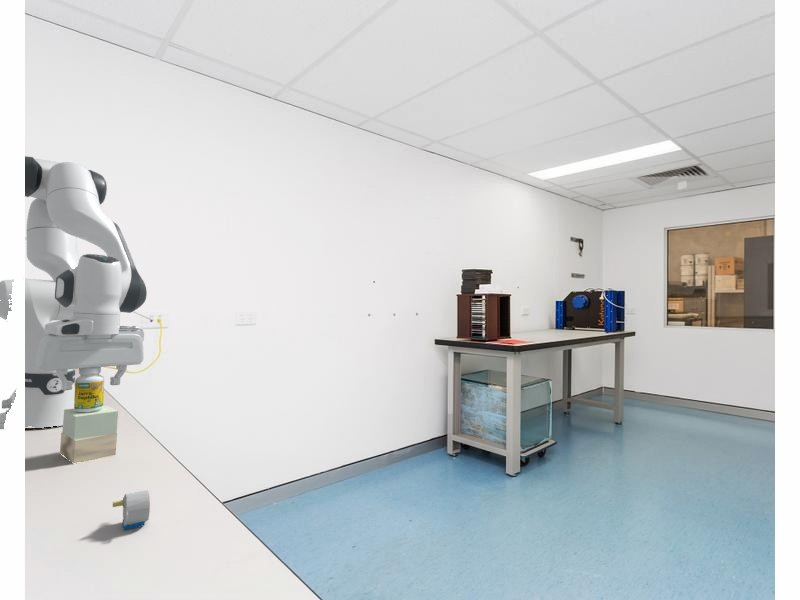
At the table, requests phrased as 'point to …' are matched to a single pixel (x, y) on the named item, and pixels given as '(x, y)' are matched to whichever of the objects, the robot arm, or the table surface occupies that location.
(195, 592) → the table surface
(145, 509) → the electric motor
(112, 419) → the tower top block
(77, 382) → the supplement bottle
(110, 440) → the tower bottom block
